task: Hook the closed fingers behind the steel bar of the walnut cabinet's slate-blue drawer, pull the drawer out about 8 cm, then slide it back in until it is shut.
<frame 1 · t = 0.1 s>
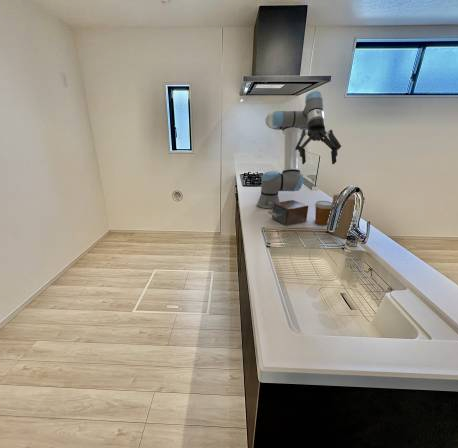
hand: (319, 162, 109), 36 cm above the table, tool tilted 35°, fingers open, 13 cm apart
amber jar: (321, 223, 137), on the table
wooden block: (341, 233, 123), on the table
cabinet: (289, 219, 141), on the table
drawer: (284, 213, 138), point 5 cm above the table, slide at 0.0 cm
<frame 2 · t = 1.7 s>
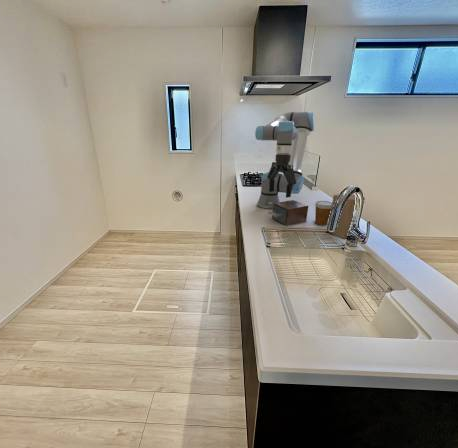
hand: (279, 194, 130), 17 cm above the table, tool pointing down, fingers open, 13 cm apart
nothing on the table moved.
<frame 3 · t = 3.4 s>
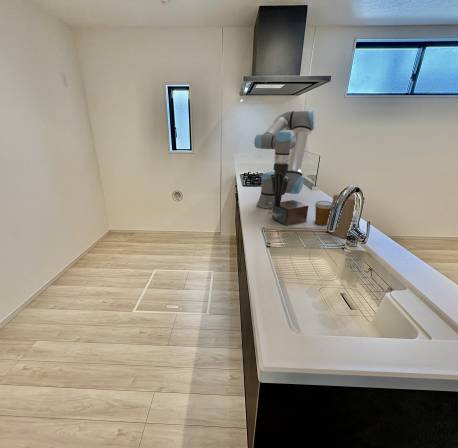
hand: (277, 206, 133), 10 cm above the table, tool pointing down, fingers closed
nothing on the table moved.
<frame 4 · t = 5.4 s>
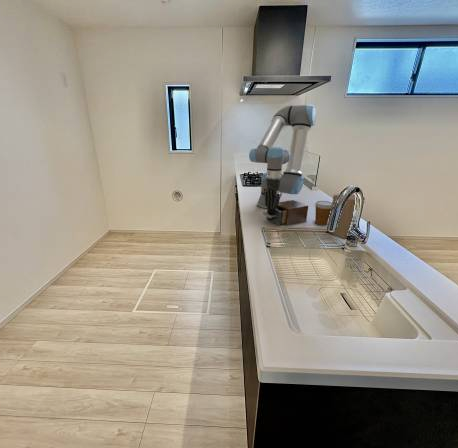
hand: (270, 219, 134), 3 cm above the table, tool pointing down, fingers closed
drawer: (278, 214, 136), point 5 cm above the table, slide at 3.9 cm, touching gripper
everything else where it was.
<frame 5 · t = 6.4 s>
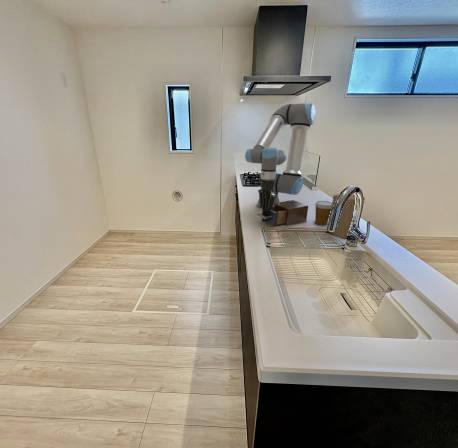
hand: (264, 221, 133), 2 cm above the table, tool pointing down, fingers closed
drawer: (273, 215, 135), point 5 cm above the table, slide at 7.5 cm, touching gripper
everything else where it was.
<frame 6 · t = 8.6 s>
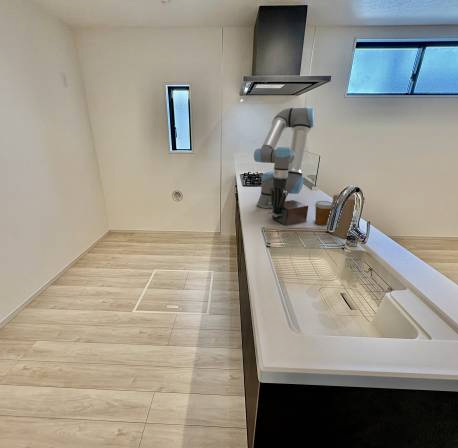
hand: (275, 218, 136), 2 cm above the table, tool pointing down, fingers closed
drawer: (284, 213, 138), point 5 cm above the table, slide at 0.0 cm, touching cabinet, gripper
everything else where it was.
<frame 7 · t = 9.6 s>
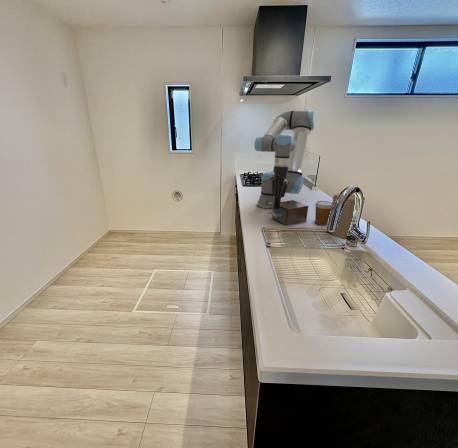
hand: (276, 208, 134), 9 cm above the table, tool pointing down, fingers closed
drawer: (284, 213, 138), point 5 cm above the table, slide at 0.0 cm, touching cabinet
everything else where it was.
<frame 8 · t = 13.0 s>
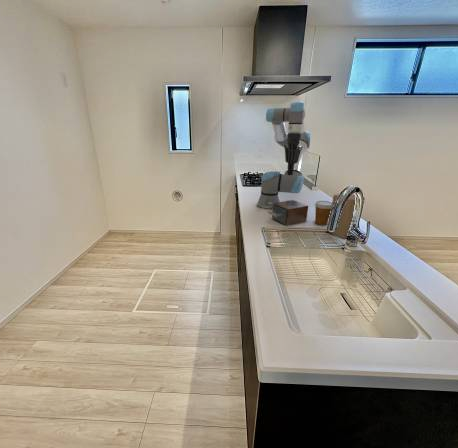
hand: (289, 174, 143), 24 cm above the table, tool pointing down, fingers closed
drawer: (284, 213, 138), point 5 cm above the table, slide at 0.0 cm
everything else where it was.
at the end: drawer pulled out 7.5 cm at the most during the clip, back to where it started at the end; drawer slide at 0.0 cm; amber jar moved 0.2 cm from its start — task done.
